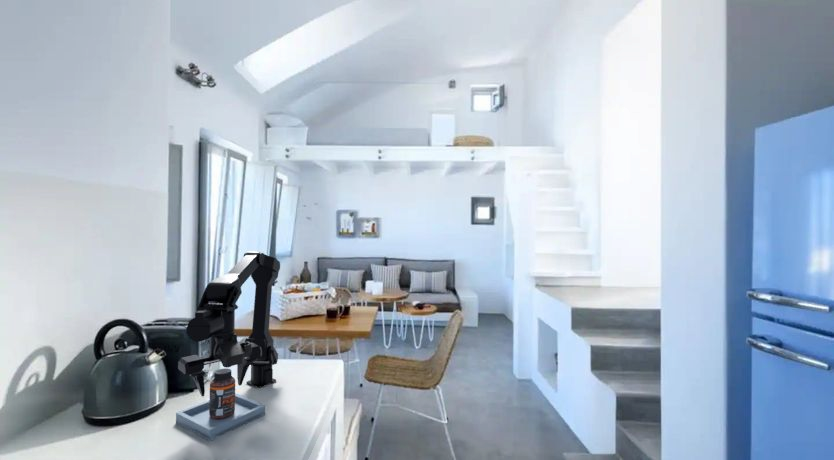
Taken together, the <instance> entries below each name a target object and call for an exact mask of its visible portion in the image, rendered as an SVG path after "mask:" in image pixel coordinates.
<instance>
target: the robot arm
mask: <svg viewBox="0 0 834 460" xmlns="http://www.w3.org/2000/svg"><path fill="white" fill-rule="evenodd" d="M280 270H281V262H280V261H279V260H278V259H277V258H276V257H275V256H274V257H273V256H270V255H266V254H265V253H264V252H261V251H247V252H244V254H243V257H242V258H241V259H240V260H239V261H238V262H237V263H236V264H235V265H234V266H233V267H231V269H230V270H229V271H228V272H227V273H225V274H224V275H221V276H218V277H215V278H214V279H212V280H211V281H210V282H208V284H207V285H206V287H205V288H204V291H203V293H202V296H201V298H200V300H199V303H198V307H197V309H196V311H195V312H194V317H193V318H192V319H190V320H189V321H188V323H187V325H186V327H185V328H186V334H187V336H188V337H189V339H191V340H192V341H194V342H197V343H201V342H203V341H206V340H208V339H209V349H207V354H208V355H207V356H203V357H201V356H199V355H198V354H192V355H189V356H188V355H187V356H183V357H180V358H179V360H178V362H177V364H178V365H177V369H178V370H179V371H180V372H181V373H183V374H184V375H186V376H190V377H191V378H192V379H193V380H194V383H195V385H196V387H197V389H198V391H199V394H200V396H201V397H202V398H203V397H205V392H206V390H205V378H204V377H205V374H206V371H204V370H203V369H204V368H205V366H207V365H211V364H215V363H219V362H220V363H221V364H222V366H223V367H224V368H231V367H233V366H237V368H236V369H237V370H236V371H237V373H236V374H237V378H236V379H237V384H238V386H242V384H243V381H244V379H245V377H246V375H247V371H248V369H249V367H250V380H247V381H246V384H247V385H250V386H253V387H255V388H258V389H260V388H263V387H265V386H268V385H270V384H272V383H275V382H277V379H276V378H273V377H274V376H273V374H274V373H273V372H274V371H273V366H274V365H278V360H279V353H278V351H277V350H276V348H275V346H274V338H273V337H272V335H271V333H270V331H269V329H270V320H271V319H270V315H271V305H272V290H273V285H274V283H275V282H276V280H277V279H278V277H279V274H280V273H279V272H280ZM250 277H251V279H252V281H253V282H254V285H255V289H254V290H255V291H254V293H255V294H254V304H253V316H252V317H253V318H252V328H251V329H252V330H251V333H250V335H249V336H248V337H246V338H245V340H244V342H239V341H238V336H237V335H238V334H237V333H235V325H236V324H235V319H236V318H235V317H236V316H235V314H236V313H235V310H237V309H238V308H239V306H238V305H237V302H238V300H239V299H240V297H241V295H242V294H243V293H242V287H243V285H244V284H245V282H247V280H249V278H250Z"/></svg>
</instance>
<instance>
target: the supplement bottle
mask: <svg viewBox="0 0 834 460" xmlns="http://www.w3.org/2000/svg"><path fill="white" fill-rule="evenodd" d="M213 374H214V375H213V379H212V380H210V382H209V400H210V402H209V415H210V417H211V418H213V419H223V418H227V417H229V416H231V415H232V414H233V413H234V411H235V393H236V379H235V377H233V376H232V375H233V373H232V369H231V368H218V369H217V370H215V371H214V373H213Z"/></svg>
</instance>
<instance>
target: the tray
mask: <svg viewBox="0 0 834 460" xmlns="http://www.w3.org/2000/svg"><path fill="white" fill-rule="evenodd" d="M209 402H210V399H209V400H206V401H203V402H201V403H198V404H195V405H193V406H190V407H187V408H186V409H182V410H180V411H178V412H175V423H176V424H178V425H180V426H182V427H183V428H184V429H187V430H188V431H191V432H192V433H195V434H196V435H198V436H200V437H202V438H204V439H206V440H208V441H209V442H211V441H213V440H215V439H217V438H219V437H221V436H223V435H226V434H228V433H230V432H232V431H234V430H237V429H238V428H241V427H242V426H244V425H246V424H249V423H251V422H253V421H255V420H257V419H259V418H261V417H263V416H265V415H266V405H265V404H263V403H261V402H258V401H256V400H253V399H251V398H248V397H246V396H243V395H241V394H239V393H237V392H235V411H234V413H233V414H232V415H231V416H229V417H227V418H223V419H213V418H211V417H210V415H209Z"/></svg>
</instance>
